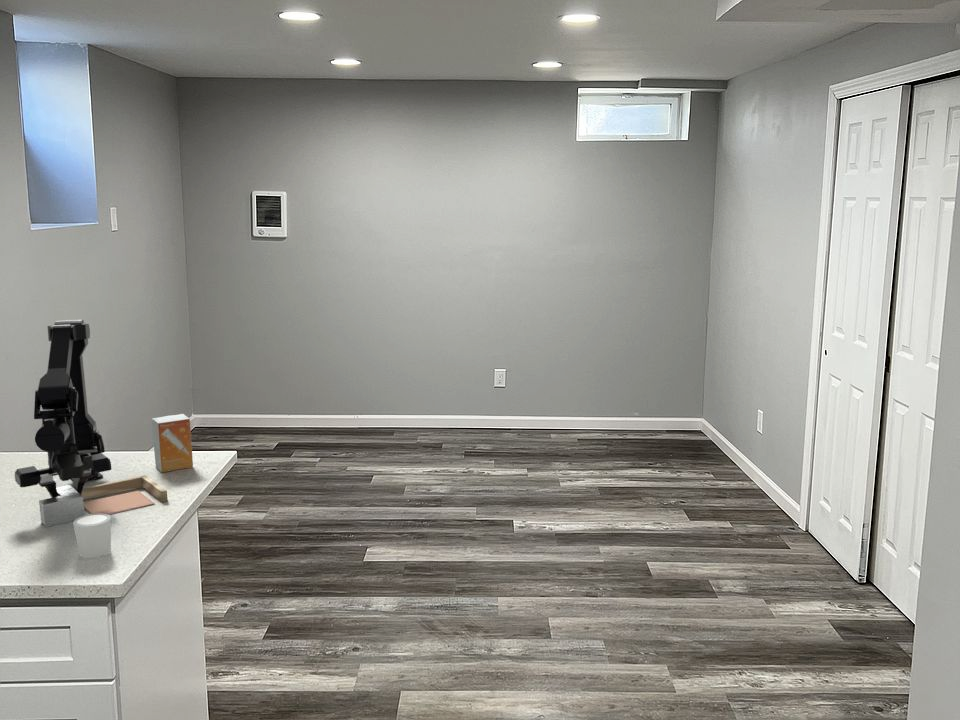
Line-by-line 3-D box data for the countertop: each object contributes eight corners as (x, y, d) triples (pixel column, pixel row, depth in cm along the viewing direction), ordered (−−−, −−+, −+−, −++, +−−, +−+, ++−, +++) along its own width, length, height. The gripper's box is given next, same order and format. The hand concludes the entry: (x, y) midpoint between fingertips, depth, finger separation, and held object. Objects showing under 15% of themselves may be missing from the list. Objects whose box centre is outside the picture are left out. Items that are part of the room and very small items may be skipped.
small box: (161, 473, 227) (157, 423, 224) (155, 466, 232) (150, 417, 229) (194, 467, 231) (190, 418, 229) (187, 461, 236) (183, 413, 234)
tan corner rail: (69, 501, 207) (67, 491, 207) (146, 484, 218) (145, 475, 217) (87, 519, 196) (86, 508, 195) (167, 500, 207) (166, 490, 206)
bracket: (84, 518, 197) (82, 496, 196) (45, 527, 192) (42, 504, 191) (72, 505, 204) (70, 484, 203) (34, 514, 199) (31, 492, 198)
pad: (80, 504, 205) (80, 503, 205) (138, 491, 213) (138, 490, 213) (94, 517, 197) (94, 516, 197) (154, 504, 205) (154, 503, 205)
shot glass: (83, 546, 181) (80, 513, 180) (118, 545, 182) (115, 512, 180) (71, 560, 175) (67, 526, 173) (107, 559, 175) (104, 524, 174)
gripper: (22, 455, 185) (30, 527, 188) (115, 439, 197) (122, 506, 200) (10, 444, 194) (18, 512, 197) (100, 428, 205) (106, 493, 208)
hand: (67, 506), depth 200 cm, fingers closed on bracket, 3 cm apart
